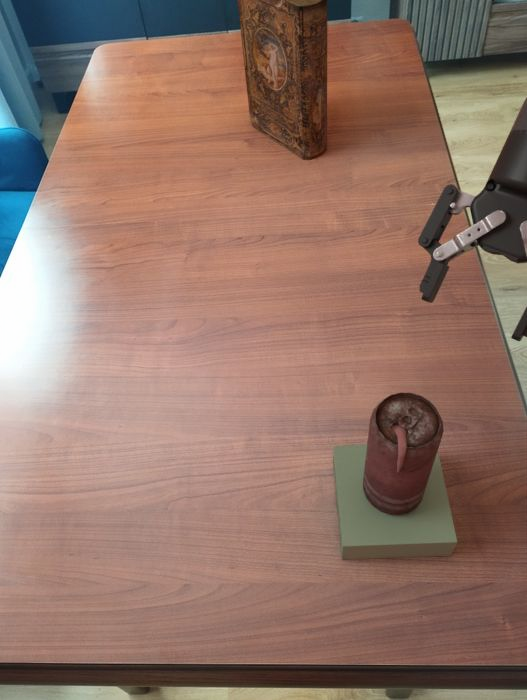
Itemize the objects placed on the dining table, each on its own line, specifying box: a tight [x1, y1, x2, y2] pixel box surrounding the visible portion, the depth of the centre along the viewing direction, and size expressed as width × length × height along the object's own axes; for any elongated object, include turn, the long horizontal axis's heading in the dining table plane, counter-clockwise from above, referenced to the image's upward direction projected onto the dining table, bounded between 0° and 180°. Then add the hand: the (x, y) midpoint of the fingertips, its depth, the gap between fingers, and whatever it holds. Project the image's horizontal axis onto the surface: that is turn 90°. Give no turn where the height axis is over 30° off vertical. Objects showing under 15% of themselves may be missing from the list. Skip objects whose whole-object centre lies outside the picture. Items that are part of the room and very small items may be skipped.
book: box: [237, 0, 329, 161], centre depth 97 cm, size 16×6×25 cm, turn 39°
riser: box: [332, 443, 458, 560], centre depth 61 cm, size 11×11×4 cm
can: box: [363, 391, 445, 515], centre depth 54 cm, size 6×6×14 cm
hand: (470, 319), depth 53 cm, fingers open, 8 cm apart
